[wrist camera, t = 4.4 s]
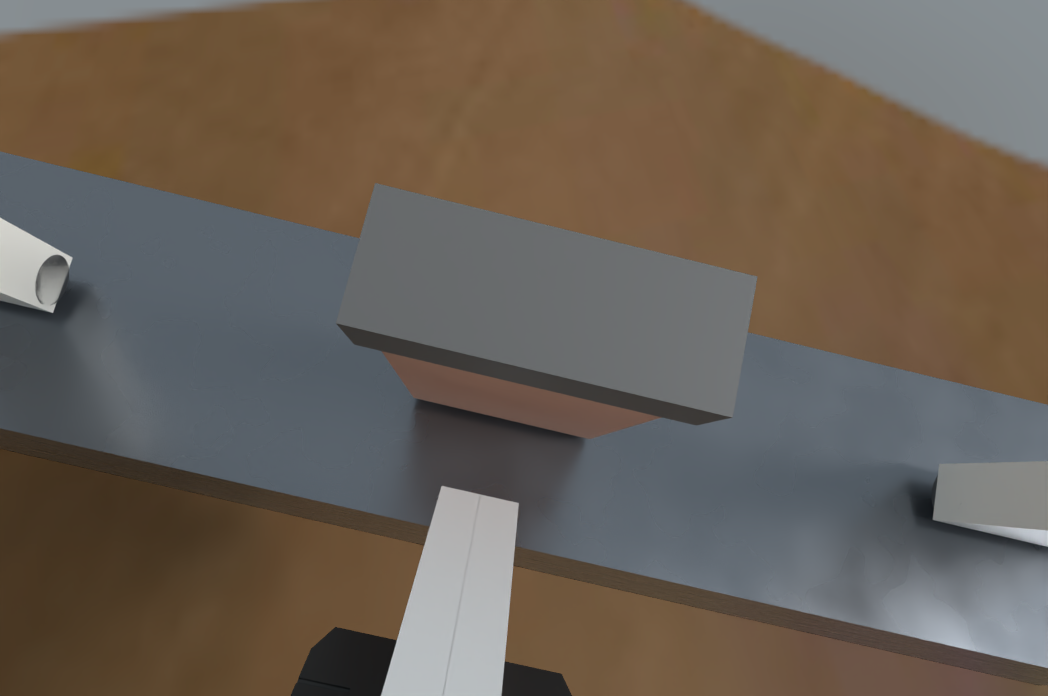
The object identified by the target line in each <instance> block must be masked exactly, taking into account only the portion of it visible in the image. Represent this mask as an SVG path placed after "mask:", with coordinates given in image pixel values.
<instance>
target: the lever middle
mask: <svg viewBox="0 0 1048 696" xmlns="http://www.w3.org/2000/svg"><path fill="white" fill-rule="evenodd" d="M756 282H757V276H753V275H749V274H744V273H740V272H736V271H732V270H728V269H724V268H720V267H716V266H712V265H708V264H704V263H700V262H695V261H691V260H687V259H683V258H679V257H675V256H671V255H667V254H663V253H659V252H655V251H650V250H646V249H642V248H638V247H634V246H630V245H626V244H622V243H618V242H614V241H610V240H605V239H601V238H597V237H593V236H589V235H585V234H581V233H577V232H573V231H569V230H565V229H561V228H556V227H552V226H548V225H544V224H540V223H536V222H532V221H528V220H524V219H520V218H516V217H511V216H507V215H503V214H499V213H495V212H491V211H487V210H483V209H479V208H475V207H471V206H466V205H462V204H458V203H454V202H450V201H446V200H442V199H438V198H434V197H430V196H426V195H422V194H417V193H413V192H409V191H405V190H401V189H397V188H393V187H389V186H385V185H381V184H377V183H375V186H374V190H373V193H372V197H371V200H370V204H369V207H368V211H367V214H366V218H365V221H364V225H363V228H362V232H361V236H360V239H359V243H358V246H357V250H356V253H355V257H354V260H353V264H352V267H351V271H350V274H349V278H348V282H347V285H346V289H345V292H344V296H343V299H342V303H341V306H340V310H339V313H338V317H337V321H336V324H337V325H338V326H339V328H340V329H341V330H342V331H343V332H344V333H345V335H346V336H347V337H348V338H349V339H350V340H351V342H352V343H353V344H354V345H358V346H362V347H366V348H370V349H375V350H379V351H382V353H383V354H384V356H385V357H386V358H387V360H388V361H389V363H390V364H391V366H392V367H393V369H394V370H395V372H396V373H397V374H398V376H399V377H400V379H401V380H402V382H403V383H404V385H405V386H406V388H407V389H408V390H409V392H410V393H411V395H412V396H413V398H416V399H421V400H425V401H429V402H433V403H438V404H442V405H446V406H450V407H455V408H459V409H463V410H467V411H472V412H476V413H480V414H484V415H489V416H493V417H497V418H502V419H506V420H510V421H514V422H519V423H523V424H527V425H531V426H536V427H540V428H544V429H548V430H553V431H557V432H561V433H565V434H570V435H574V436H578V437H582V438H587V439H592V438H595V437H599V436H602V435H605V434H608V433H612V432H615V431H618V430H622V429H625V428H628V427H632V426H635V425H638V424H642V423H645V422H648V421H652V420H655V419H658V418H666V419H670V420H675V421H679V422H683V423H687V424H691V425H696V426H697V425H701V424H706V423H710V422H715V421H719V420H724V419H729V418H733V413H734V408H735V402H736V396H737V391H738V385H739V379H740V373H741V368H742V362H743V356H744V350H745V345H746V339H747V333H748V327H749V322H750V316H751V310H752V305H753V299H754V293H755V287H756Z"/></svg>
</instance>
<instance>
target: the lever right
mask: <svg viewBox="0 0 1048 696" xmlns="http://www.w3.org/2000/svg"><path fill="white" fill-rule="evenodd" d="M931 499H932V505H933V508H934V513H933V520H935V521H940V522H944V523H948V524H952V525H957V526H961V527H965V528H969V529H974V530H978V531H982V532H986V533H991V534H995V535H999V536H1003V537H1008V538H1012V539H1016V540H1020V541H1025V542H1029V543H1033V544H1037V545H1042V546H1046V547H1048V461H1036V462H996V463H957V464H939V471H938V476H937V477H936V479H935V481H934V484H933V487H932V493H931Z"/></svg>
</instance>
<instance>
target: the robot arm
mask: <svg viewBox="0 0 1048 696" xmlns="http://www.w3.org/2000/svg"><path fill="white" fill-rule="evenodd" d="M518 506H519V503H516V502H512V501H507V500H503V499H498V498H494V497H489V496H485V495H481V494H476V493H472V492H467V491H463V490H458V489H454V488H449V487H445V486H441V490H440V493H439V497H438V500H437V504H436V507H435V511H434V514H433V517H432V521H431V524H430V528H429V531H428V535H427V538H426V542H425V545H424V549H423V552H422V556H421V559H420V562H419V566H418V569H417V573H416V576H415V580H414V583H413V587H412V590H411V594H410V597H409V601H408V604H407V607H406V611H405V614H404V618H403V621H402V625H401V628H400V632H399V635H398V639H397V640H393V639H388V638H383V637H379V636H374V635H370V634H365V633H360V632H356V631H351V630H346V629H342V628H337V627H335V628H334V629H333V630H332V631H331V632H329V633H328V634H327V635H326V636H325V637H324V638H323V639H322V640H320V641H319V642H318V643H317V644H316V645H315V646H314V647H313V648H311V651H310V653H309V655H308V657H307V660H306V662H305V664H304V666H303V669H302V671H301V673H300V676H299V679H298V682H297V683H296V685H295V687H294V689H293V692H292V694H291V696H572V695H571V693H570V691H569V689H568V687H567V685H566V682H565V680H564V678H563V676H562V674H560V673H555V672H551V671H546V670H541V669H537V668H532V667H528V666H523V665H518V664H514V663H509V662H505V651H506V640H507V629H508V618H509V606H510V595H511V584H512V573H513V562H514V551H515V540H516V529H517V518H518Z"/></svg>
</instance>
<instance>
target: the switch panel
mask: <svg viewBox="0 0 1048 696" xmlns="http://www.w3.org/2000/svg"><path fill="white" fill-rule="evenodd" d="M0 218H2V219H4V220H5V221H7V222H9V223H11V224H13V225H14V226H16V227H18V228H20V229H22V230H23V231H25V232H27V233H29V234H31V235H32V236H34V237H36V238H38V239H40V240H41V241H43V242H45V243H47V244H49V245H51V246H52V247H54V248H56V249H58V250H60V251H61V252H63V253H65V254H67V255H69V256H70V257H72V261H71V264H70V267H69V281H68V285H67V288H66V290H65V292H64V294H63V296H62V297H61V298H60V300H59V301H58V302H57V303H56V306H55V309H54V311H53V313H51V312H46V311H42V310H38V309H34V308H29V307H25V306H21V305H17V304H12V303H8V302H4V301H0V449H5V450H9V451H13V452H18V453H22V454H26V455H31V456H35V457H40V458H44V459H48V460H53V461H57V462H62V463H66V464H70V465H75V466H79V467H83V468H88V469H92V470H97V471H101V472H105V473H110V474H114V475H119V476H123V477H127V478H132V479H136V480H141V481H145V482H149V483H154V484H158V485H162V486H167V487H171V488H176V489H180V490H184V491H189V492H193V493H198V494H202V495H206V496H211V497H215V498H219V499H224V500H228V501H233V502H237V503H241V504H246V505H250V506H255V507H259V508H263V509H268V510H272V511H277V512H281V513H285V514H290V515H294V516H298V517H303V518H307V519H312V520H316V521H320V522H325V523H329V524H334V525H338V526H342V527H347V528H351V529H355V530H360V531H364V532H369V533H373V534H377V535H382V536H386V537H391V538H395V539H399V540H404V541H408V542H412V543H417V544H421V545H425V542H426V538H427V535H428V531H429V528H430V524H431V521H432V517H433V514H434V511H435V507H436V504H437V500H438V497H439V493H440V490H441V486H445V487H449V488H454V489H458V490H463V491H467V492H472V493H476V494H481V495H485V496H489V497H494V498H498V499H503V500H507V501H512V502H516V503H519V506H518V518H517V529H516V540H515V551H514V562H513V566H518V567H522V568H527V569H531V570H535V571H540V572H544V573H548V574H553V575H557V576H562V577H566V578H570V579H575V580H579V581H584V582H588V583H592V584H597V585H601V586H606V587H610V588H614V589H619V590H623V591H627V592H632V593H636V594H641V595H645V596H649V597H654V598H658V599H663V600H667V601H671V602H676V603H680V604H684V605H689V606H693V607H698V608H702V609H706V610H711V611H715V612H720V613H724V614H728V615H733V616H737V617H742V618H746V619H750V620H755V621H759V622H763V623H768V624H772V625H777V626H781V627H785V628H790V629H794V630H799V631H803V632H807V633H812V634H816V635H820V636H825V637H829V638H834V639H838V640H842V641H847V642H851V643H856V644H860V645H864V646H869V647H873V648H878V649H882V650H886V651H891V652H895V653H899V654H904V655H908V656H913V657H917V658H921V659H926V660H930V661H935V662H939V663H943V664H948V665H952V666H956V667H961V668H965V669H970V670H974V671H978V672H983V673H987V674H992V675H996V676H1000V677H1005V678H1009V679H1014V680H1018V681H1022V682H1027V683H1031V684H1035V685H1048V547H1046V546H1042V545H1037V544H1033V543H1029V542H1025V541H1020V540H1016V539H1012V538H1008V537H1003V536H999V535H995V534H991V533H986V532H982V531H978V530H974V529H969V528H965V527H961V526H957V525H952V524H948V523H944V522H940V521H935V520H933V513H934V508H933V505H932V499H931V493H932V487H933V484H934V481H935V479H936V477H937V476H938V471H939V464H957V463H996V462H1036V461H1048V405H1046V404H1042V403H1038V402H1033V401H1029V400H1025V399H1021V398H1017V397H1013V396H1009V395H1004V394H1000V393H996V392H992V391H988V390H984V389H980V388H976V387H971V386H967V385H963V384H959V383H955V382H951V381H947V380H942V379H938V378H934V377H930V376H926V375H922V374H918V373H914V372H909V371H905V370H901V369H897V368H893V367H889V366H885V365H880V364H876V363H872V362H868V361H864V360H860V359H856V358H851V357H847V356H843V355H839V354H835V353H831V352H827V351H823V350H818V349H814V348H810V347H806V346H802V345H798V344H794V343H789V342H785V341H781V340H777V339H773V338H769V337H765V336H760V335H756V334H752V333H747V339H746V345H745V350H744V356H743V362H742V368H741V373H740V379H739V385H738V391H737V396H736V402H735V408H734V413H733V418H729V419H724V420H719V421H715V422H710V423H706V424H701V425H697V426H696V425H691V424H687V423H683V422H679V421H675V420H670V419H666V418H658V419H655V420H652V421H648V422H645V423H642V424H638V425H635V426H632V427H628V428H625V429H622V430H618V431H615V432H612V433H608V434H605V435H602V436H599V437H595V438H592V439H587V438H582V437H578V436H574V435H570V434H565V433H561V432H557V431H553V430H548V429H544V428H540V427H536V426H531V425H527V424H523V423H519V422H514V421H510V420H506V419H502V418H497V417H493V416H489V415H484V414H480V413H476V412H472V411H467V410H463V409H459V408H455V407H450V406H446V405H442V404H438V403H433V402H429V401H425V400H421V399H416V398H413V396H412V395H411V393H410V392H409V390H408V389H407V388H406V386H405V385H404V383H403V382H402V380H401V379H400V377H399V376H398V374H397V373H396V372H395V370H394V369H393V367H392V366H391V364H390V363H389V361H388V360H387V358H386V357H385V356H384V354H383V353H382V351H379V350H375V349H370V348H366V347H362V346H358V345H354V344H353V343H352V342H351V340H350V339H349V338H348V337H347V336H346V335H345V333H344V332H343V331H342V330H341V329H340V328H339V326H338V325H337V324H336V321H337V317H338V313H339V310H340V306H341V303H342V299H343V296H344V292H345V289H346V285H347V282H348V278H349V274H350V271H351V267H352V264H353V260H354V257H355V253H356V250H357V246H358V243H359V238H355V237H351V236H347V235H343V234H339V233H335V232H330V231H326V230H322V229H318V228H314V227H310V226H306V225H301V224H297V223H293V222H289V221H285V220H281V219H277V218H272V217H268V216H264V215H260V214H256V213H252V212H248V211H244V210H239V209H235V208H231V207H227V206H223V205H219V204H215V203H210V202H206V201H202V200H198V199H194V198H190V197H186V196H182V195H177V194H173V193H169V192H165V191H161V190H157V189H153V188H148V187H144V186H140V185H136V184H132V183H128V182H124V181H119V180H115V179H111V178H107V177H103V176H99V175H95V174H91V173H86V172H82V171H78V170H74V169H70V168H66V167H62V166H57V165H53V164H49V163H45V162H41V161H37V160H33V159H28V158H24V157H20V156H16V155H12V154H8V153H4V152H0Z"/></svg>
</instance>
